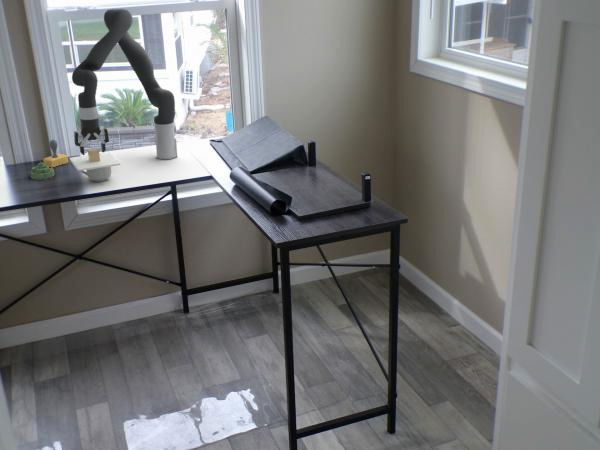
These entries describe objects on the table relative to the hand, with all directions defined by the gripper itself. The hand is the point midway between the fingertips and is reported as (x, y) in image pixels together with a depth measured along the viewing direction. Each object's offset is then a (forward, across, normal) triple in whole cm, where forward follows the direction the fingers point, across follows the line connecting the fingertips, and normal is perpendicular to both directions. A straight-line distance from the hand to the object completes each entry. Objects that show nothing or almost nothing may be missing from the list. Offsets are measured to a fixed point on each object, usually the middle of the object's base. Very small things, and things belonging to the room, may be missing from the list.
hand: (93, 153), depth 293 cm
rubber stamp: (+12, +12, -30) cm, 35 cm away
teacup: (+12, 0, 0) cm, 12 cm away
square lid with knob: (+4, 0, 0) cm, 4 cm away
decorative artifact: (+12, +20, -15) cm, 28 cm away
